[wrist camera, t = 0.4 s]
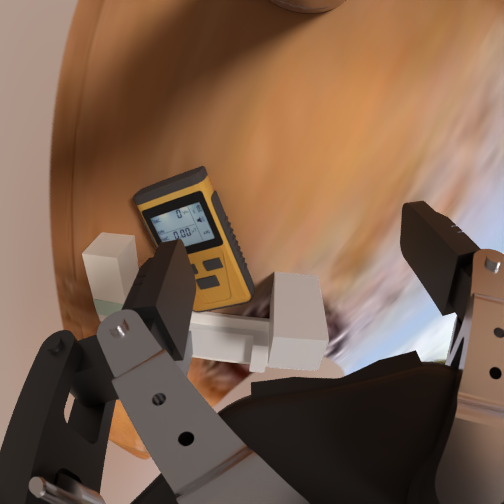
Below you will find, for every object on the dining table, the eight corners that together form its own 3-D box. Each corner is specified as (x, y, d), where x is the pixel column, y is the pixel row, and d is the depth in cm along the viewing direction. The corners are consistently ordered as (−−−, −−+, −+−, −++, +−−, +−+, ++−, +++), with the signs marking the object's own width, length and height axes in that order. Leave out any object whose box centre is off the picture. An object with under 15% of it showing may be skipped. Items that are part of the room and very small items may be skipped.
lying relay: (102, 231, 34) (81, 253, 30) (135, 234, 34) (117, 258, 30) (114, 296, 39) (99, 321, 35) (144, 301, 39) (131, 328, 35)
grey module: (274, 271, 35) (273, 336, 26) (318, 275, 35) (328, 340, 26) (270, 302, 37) (267, 367, 29) (310, 306, 37) (317, 371, 29)
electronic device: (196, 299, 39) (190, 317, 36) (138, 188, 31) (125, 201, 28) (259, 286, 37) (257, 305, 34) (209, 162, 29) (201, 172, 27)
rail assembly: (106, 296, 39) (69, 358, 29) (283, 320, 39) (283, 397, 29) (118, 340, 44) (91, 399, 34) (274, 363, 43) (271, 432, 34)
